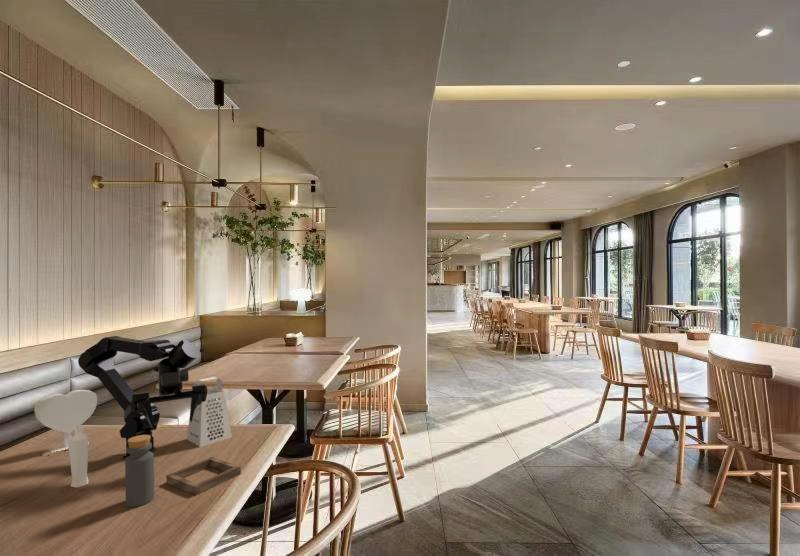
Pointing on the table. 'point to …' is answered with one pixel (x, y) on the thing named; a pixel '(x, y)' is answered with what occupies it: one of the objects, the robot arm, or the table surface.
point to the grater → (210, 417)
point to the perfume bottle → (79, 456)
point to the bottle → (139, 471)
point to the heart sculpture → (65, 411)
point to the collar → (191, 487)
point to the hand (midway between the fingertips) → (172, 424)
